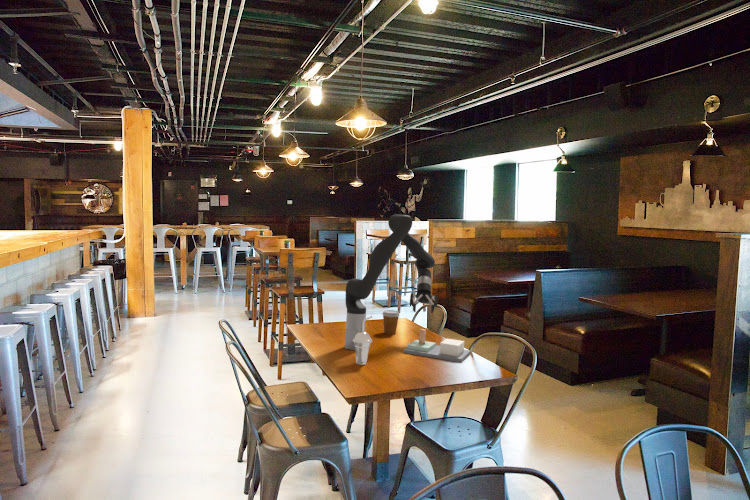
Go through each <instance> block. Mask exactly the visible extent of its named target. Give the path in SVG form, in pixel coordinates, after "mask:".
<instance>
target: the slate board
mask: <svg viewBox="0 0 750 500" xmlns="http://www.w3.org/2000/svg"><path fill="white" fill-rule="evenodd" d="M471 351H472V350H469V349H464V352H462V353H461V354H460V355H459V356H452V355H446V354H440V344H439V345H438V344H436V347H434V348H433V349H431V350H430V351H429V352H425V351H419V350H413V349H407V347H406V348H404V349H403V352H402V353H404V354H409V355H415V356H419V357H420V356H421V357H426V358H427V357H428V358H431V359H437V360H438V359H439V360H445V361H451V362H457V363H462V362H463V361H464V360H465V359H467V358H468V357H469V356H471V353H472V352H471Z"/></svg>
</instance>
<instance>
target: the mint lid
mask: <svg viewBox="0 0 750 500" xmlns="http://www.w3.org/2000/svg"><path fill="white" fill-rule="evenodd" d="M426 334H427V329H425V328H419V335H418V336H419V338H418V339H415V340H413V341H412V342H410V343H408V344H407V345H406V348H407V349H413V350H419V351H425V352H429V351H430V350H431V349H433V348H434V347H436V345H437V343H436V342H433V341H427V340H426V336H427V335H426Z"/></svg>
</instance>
